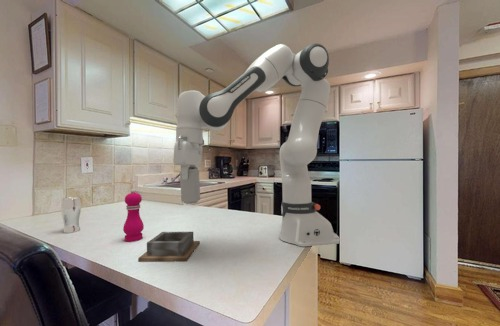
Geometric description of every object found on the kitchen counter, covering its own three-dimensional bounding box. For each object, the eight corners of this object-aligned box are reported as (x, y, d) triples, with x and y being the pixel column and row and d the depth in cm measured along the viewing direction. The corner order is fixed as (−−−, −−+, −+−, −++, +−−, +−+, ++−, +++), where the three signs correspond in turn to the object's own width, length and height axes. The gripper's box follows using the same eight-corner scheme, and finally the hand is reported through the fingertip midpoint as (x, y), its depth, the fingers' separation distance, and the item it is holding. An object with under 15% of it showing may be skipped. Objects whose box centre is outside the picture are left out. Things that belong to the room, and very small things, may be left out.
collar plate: (199, 243, 82) (199, 230, 82) (187, 261, 67) (186, 244, 67) (159, 243, 82) (159, 230, 82) (138, 261, 67) (138, 245, 67)
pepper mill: (147, 237, 90) (147, 188, 90) (131, 243, 83) (131, 190, 83) (135, 235, 93) (135, 187, 93) (119, 240, 86) (118, 189, 86)
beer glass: (57, 232, 98) (57, 199, 98) (75, 228, 104) (74, 196, 105) (67, 234, 95) (67, 199, 96) (84, 229, 102) (84, 197, 102)
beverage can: (194, 205, 74) (192, 170, 72) (177, 203, 75) (175, 169, 73) (203, 199, 80) (202, 166, 78) (187, 197, 81) (186, 166, 79)
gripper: (189, 134, 65) (188, 181, 65) (205, 141, 86) (204, 177, 86) (168, 134, 65) (167, 180, 65) (189, 141, 86) (188, 177, 86)
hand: (188, 178), depth 76 cm, fingers closed on beverage can, 6 cm apart
